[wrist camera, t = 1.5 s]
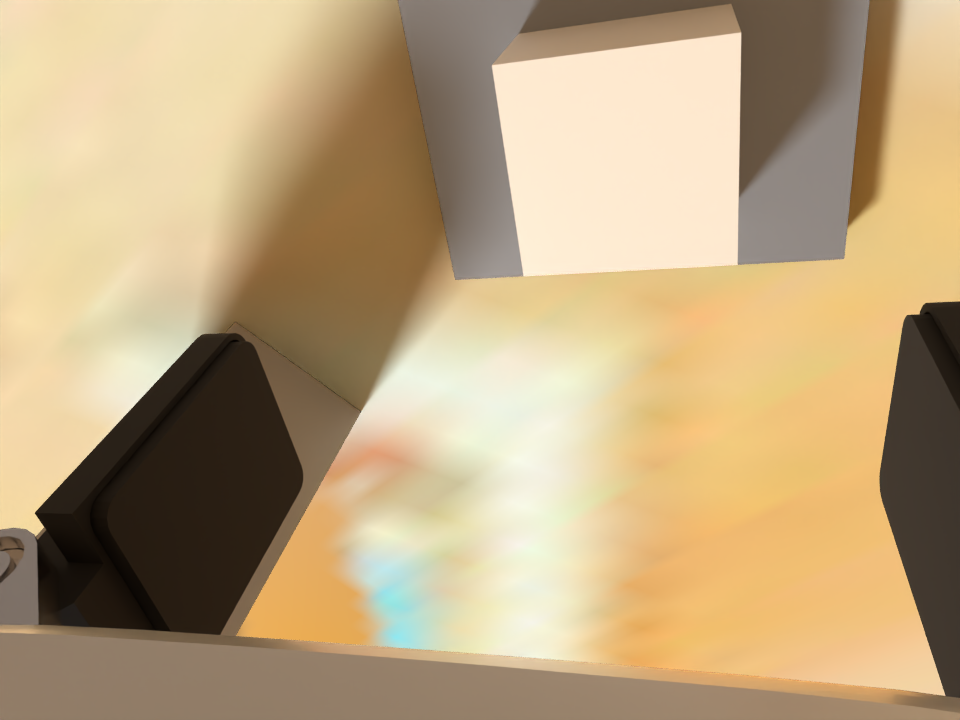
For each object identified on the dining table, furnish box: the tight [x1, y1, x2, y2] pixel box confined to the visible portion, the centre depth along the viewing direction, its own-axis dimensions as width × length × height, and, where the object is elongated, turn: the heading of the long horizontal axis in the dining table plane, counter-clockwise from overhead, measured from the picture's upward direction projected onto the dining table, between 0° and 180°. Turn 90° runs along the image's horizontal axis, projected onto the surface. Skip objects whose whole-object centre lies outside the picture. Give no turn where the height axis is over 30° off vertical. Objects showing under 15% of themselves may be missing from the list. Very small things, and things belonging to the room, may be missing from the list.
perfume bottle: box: [36, 322, 361, 636], centre depth 28 cm, size 7×7×18 cm
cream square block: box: [492, 4, 741, 276], centre depth 21 cm, size 6×6×4 cm
